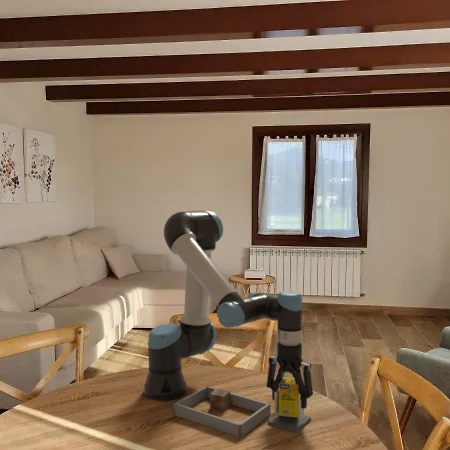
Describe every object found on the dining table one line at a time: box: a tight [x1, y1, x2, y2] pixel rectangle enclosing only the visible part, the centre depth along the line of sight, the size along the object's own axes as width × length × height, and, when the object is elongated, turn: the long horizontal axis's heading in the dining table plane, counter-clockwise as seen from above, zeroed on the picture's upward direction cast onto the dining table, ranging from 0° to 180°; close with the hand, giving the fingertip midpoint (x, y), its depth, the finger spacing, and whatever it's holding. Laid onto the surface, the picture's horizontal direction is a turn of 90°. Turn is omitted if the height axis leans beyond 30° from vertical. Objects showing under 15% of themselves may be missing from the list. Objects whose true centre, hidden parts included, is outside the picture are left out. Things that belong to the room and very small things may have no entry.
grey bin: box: [173, 385, 271, 438], centre depth 159 cm, size 26×18×4 cm
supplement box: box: [278, 376, 300, 420], centre depth 154 cm, size 6×6×11 cm
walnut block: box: [209, 387, 231, 412], centre depth 165 cm, size 5×5×5 cm
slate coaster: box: [266, 412, 312, 433], centre depth 154 cm, size 10×10×1 cm
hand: (289, 414), depth 154 cm, fingers closed on supplement box, 7 cm apart
